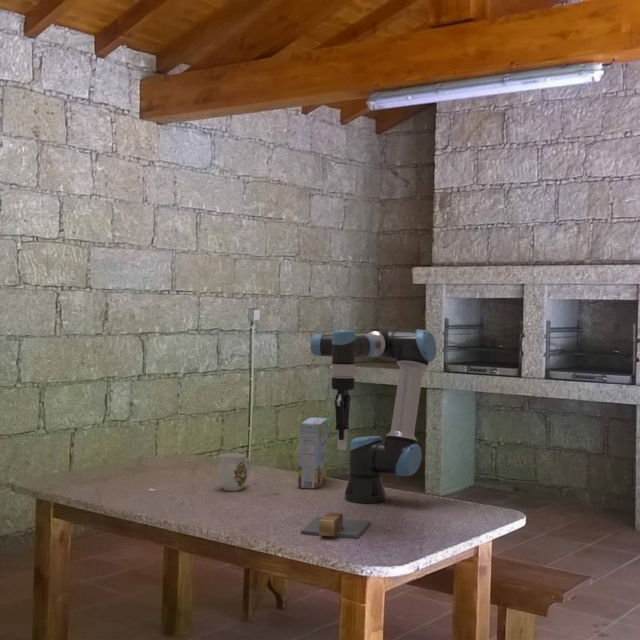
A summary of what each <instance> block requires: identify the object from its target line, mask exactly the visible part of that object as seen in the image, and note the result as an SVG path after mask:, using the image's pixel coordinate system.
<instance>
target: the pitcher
mask: <svg viewBox="0 0 640 640" xmlns="http://www.w3.org/2000/svg"><path fill="white" fill-rule="evenodd" d="M217 458H218V459H220V462H219V466H218V479H219V483H220V486H221V487H222V489H223V490H224V491H226V490H228V492H237V491H238V490H239V491H241V490H242V489H243V487H244V486H245V483H246V481H247V479H248V477H249V476H250V474H251V469H252V465H251V462H250V459H249V458H247V455H246V454H244V453H240V452H239V453H237V452H234V453H233V452H232V453H231V452H229V453H221V454H219V455H217ZM239 491H238V492H239Z"/></svg>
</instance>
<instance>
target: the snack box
mask: <svg viewBox="0 0 640 640" xmlns="http://www.w3.org/2000/svg"><path fill="white" fill-rule="evenodd" d="M328 426H329V419H328V418H326V417H309V418H307V419H305V420H303V421H302V422H300V429H299V430H300V431H299V453H298V454H299V457H298V459H299V460H298V478H297V479H298V480H297V487H298V488H299V489H310V490H311V489H312V490H318V488H319V487H320V486H321V485H322V484H323V483H324V482H325V480H326V479H327V457H328V456H327V454H328V453H327V452H328V451H327V450H328V430H329V429H328Z"/></svg>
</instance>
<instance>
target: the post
mask: <svg viewBox="0 0 640 640" xmlns="http://www.w3.org/2000/svg"><path fill="white" fill-rule="evenodd" d="M322 517H323V518H321V519H320V520H319V535H324V536H323V537H331V536H334V535H335V534H336V533H337V532H338V531H339V530H340V529H341V528H342V527H343V518H344V513H343V512H336V511H328V512H327V513H326V514H325V515H324V516H322Z"/></svg>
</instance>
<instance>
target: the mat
mask: <svg viewBox="0 0 640 640" xmlns="http://www.w3.org/2000/svg"><path fill="white" fill-rule="evenodd" d="M323 517H324V516H316V517H315V518H313V519H312V520H311V521H310V522H309V523H308V524H307V525H306V526H304V528H302V529H301V530H300V534H301V535H310V536H317V537H318V536H321V537H325V536H324V535H319V520H320V519H321V518H323ZM370 525H371V520H369V519H357V518H344V517H343V527H342V528H341V529H340V530H339V531H338V532H337V533H336V534H335V535H334V536H330V537H331V538H332V537H334V538H345V539H356V540H357V539H359V538H360V537H361V536H362V535H363V533H364V532H365V531H366V529H367V528H369V526H370Z"/></svg>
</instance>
